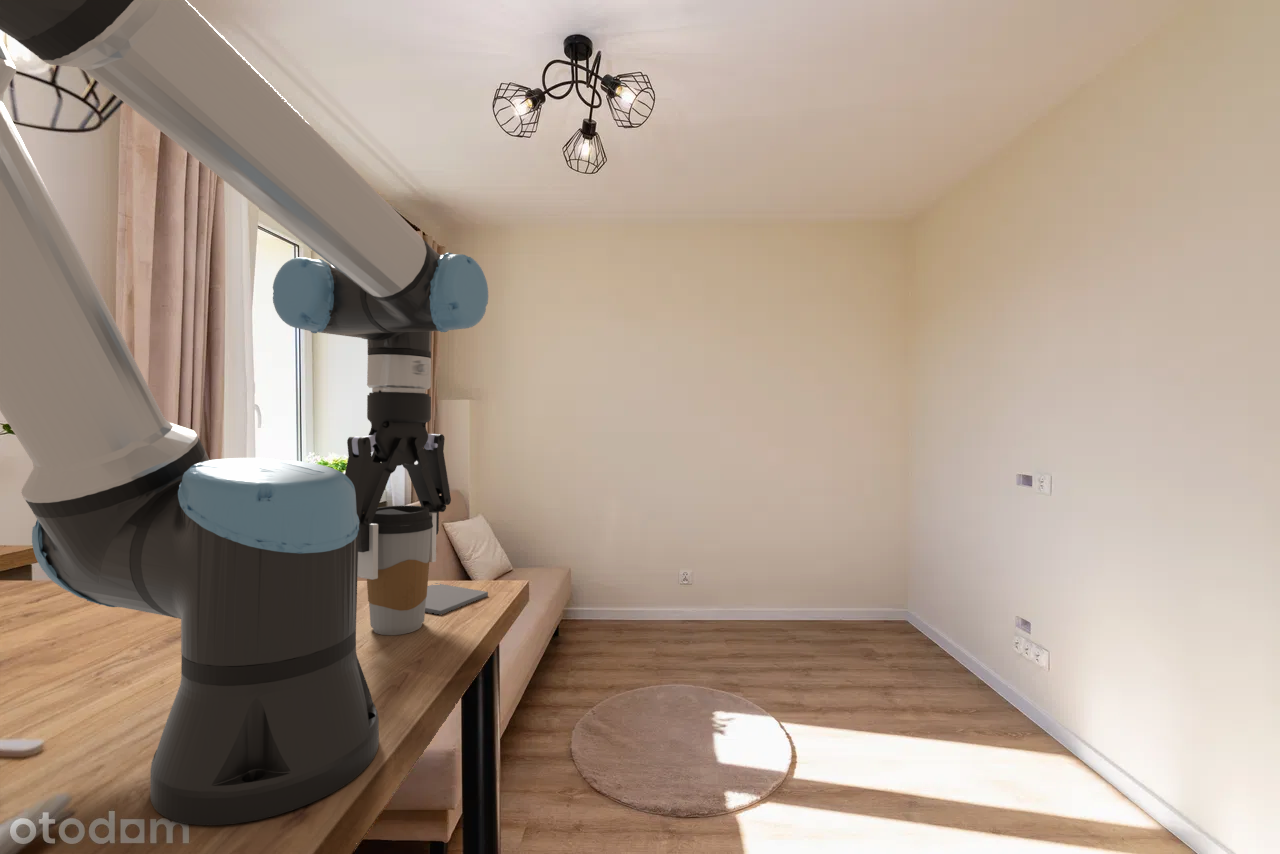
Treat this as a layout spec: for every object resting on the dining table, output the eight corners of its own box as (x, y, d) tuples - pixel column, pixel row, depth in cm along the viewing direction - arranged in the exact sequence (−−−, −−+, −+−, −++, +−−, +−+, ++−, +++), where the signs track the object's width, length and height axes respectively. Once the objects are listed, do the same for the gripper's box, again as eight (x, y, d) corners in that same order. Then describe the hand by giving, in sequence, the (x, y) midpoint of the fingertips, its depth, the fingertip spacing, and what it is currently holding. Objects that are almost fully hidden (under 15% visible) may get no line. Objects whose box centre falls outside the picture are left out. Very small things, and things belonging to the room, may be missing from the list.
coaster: (440, 615, 84) (440, 610, 84) (385, 604, 88) (385, 600, 88) (487, 595, 93) (487, 591, 93) (436, 587, 97) (436, 583, 97)
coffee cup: (418, 612, 85) (419, 503, 85) (442, 629, 79) (443, 511, 78) (353, 624, 80) (354, 508, 80) (373, 644, 73) (374, 517, 73)
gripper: (348, 387, 67) (346, 594, 68) (479, 394, 87) (478, 554, 87) (300, 387, 70) (300, 585, 71) (438, 394, 90) (436, 548, 91)
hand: (398, 568), depth 79 cm, fingers open, 9 cm apart
